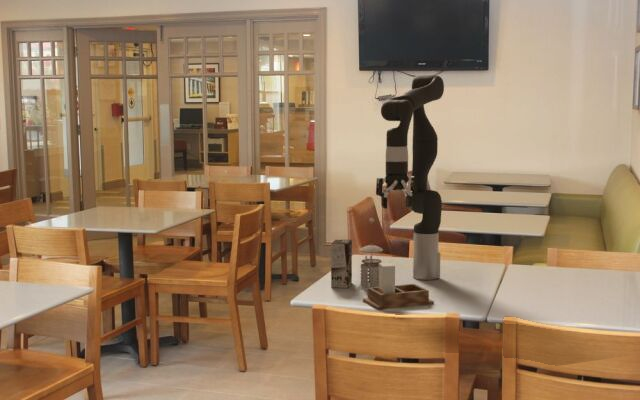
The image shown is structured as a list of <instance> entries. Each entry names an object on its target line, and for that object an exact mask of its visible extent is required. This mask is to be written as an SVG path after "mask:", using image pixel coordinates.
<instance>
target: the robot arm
mask: <svg viewBox="0 0 640 400" xmlns="http://www.w3.org/2000/svg"><path fill="white" fill-rule="evenodd" d="M412 79H413V80H412V81H411V89H409V90H407V91H405V92H404V93H402V94H401V95H399V96H395V97H392V98H391V97H390V98H388V99H386V100H385V101H384V102H383V103H382V105H381V107H380V114H381V117H382V119H384V120H385V121H388V122H399V124H398V126H396V127H393V128H389V129H387V131H386V147H385V148H386V149H385V177H384V178H383V177H377V178H376V188H375V195H376V196H379V197H380V198H381V200H380V201H381V205H380V206H381V207H382V208H383V209H385V210H386V209H388V196H389V194H390V193H391V192H392V191H403V192H404V194H405V207H406V208H411V209H410V210H411V211H413V212H414V213H416V214H419V215H422V218H421V221H420V222H417V223H415V224H414V225H413V253H412V255H413V256H412V257H413V259H412V260H413V262H412V264H413V265H412V266H413V267H412V268H413V271H412V275H413V276H412V277H413V279H416V280H421V281H422V280H424V281H425V280H427V281H429V280H436V279H440V278H441V252H439V230H440V226H441V223H442V210H443V208H442V205H443V201H442V197H441V194H440V193H439V192H438V191H436V190H433V189H428V185H427V184H428V176H429V173H430V171H431V169H432V166H434V163H435V161H436V159H437V156H438V147H439V145H438V141H439V137H438V134H437V131H436V130H435V129H434V126H433V125H432V123H431V122H430V120H429V118H428V116H427V114H426V110H425V106H424V105H426V104H429V103H431V102H434V101H438V100H440V99H441V98H442V97H443V95H444V92H445V91H444V90H445V83H444V80H443V78H442V77H441V76H439V75H435V74H430V75H425V74H423V75H421V74H420V75H415V76H414V77H413V78H412ZM411 121H413V122H412V149H411V150H412V152H411V153H412V164H411V170H412V171H411V176H409V175H408V174H409V149H408V138H409V137H408V134H409V129H410V124H411ZM408 182H409V184H410V187H409V186H408ZM385 184H386V185H385ZM384 185H385V186H384ZM383 187H384V188H383Z"/></svg>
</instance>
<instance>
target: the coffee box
mask: <svg viewBox="0 0 640 400" xmlns="http://www.w3.org/2000/svg"><path fill="white" fill-rule="evenodd" d="M352 242H353V240H352V239H334V240H333V241H332V242H331V243H330V248H331V249H330V257H331V258H330V279H331V280H330V287H331V288H339V289H348V288H349V287H350V286H351V285H352V283H353V276H352V275H353V272H352V271H353V269H352V268H353V267H352V266H353V258H352V257H353V254H352V252H353V250H352V249H353V248H352V247H353V243H352Z"/></svg>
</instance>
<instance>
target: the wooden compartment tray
mask: <svg viewBox="0 0 640 400" xmlns="http://www.w3.org/2000/svg"><path fill="white" fill-rule="evenodd" d="M362 302H364V303H365V304H367V305H368V306H370V307H372V308H373V309H375V310H377V311H380V310H381V311H382V310H391V309H398V308H399V309H401V308H410V307H422V306H428V305H429V306H430V305H434V304H435V301H434V300H432V299H430V290H429V289H427V288H425V287H422V286H420V285H418V284H416V283H409V284H397V285H396V284H395V293H390V294H382V293H380V292H379V287H373V288H368V291H367V297H363V298H362Z"/></svg>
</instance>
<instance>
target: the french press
mask: <svg viewBox="0 0 640 400" xmlns="http://www.w3.org/2000/svg"><path fill="white" fill-rule="evenodd" d="M368 221H369V223H373V222H375V218H373V217H370V218H369V219H368ZM383 251H384V249H383V248H382V247H381V246H377V245H374V244H368V245H365V246H363V247H361V248H360V252H361V253H366V254H371V255H370V256H369V258H368V256H367V255H365V258H364V259H362V260H361V262H362V263H361V264H360V284H359V285H358V286H357V289H359V290H361V291H367V292H368V288H373V287H379V263H383V261H382V260H381V259H377V258H373V254H377V253H381V252H383Z"/></svg>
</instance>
